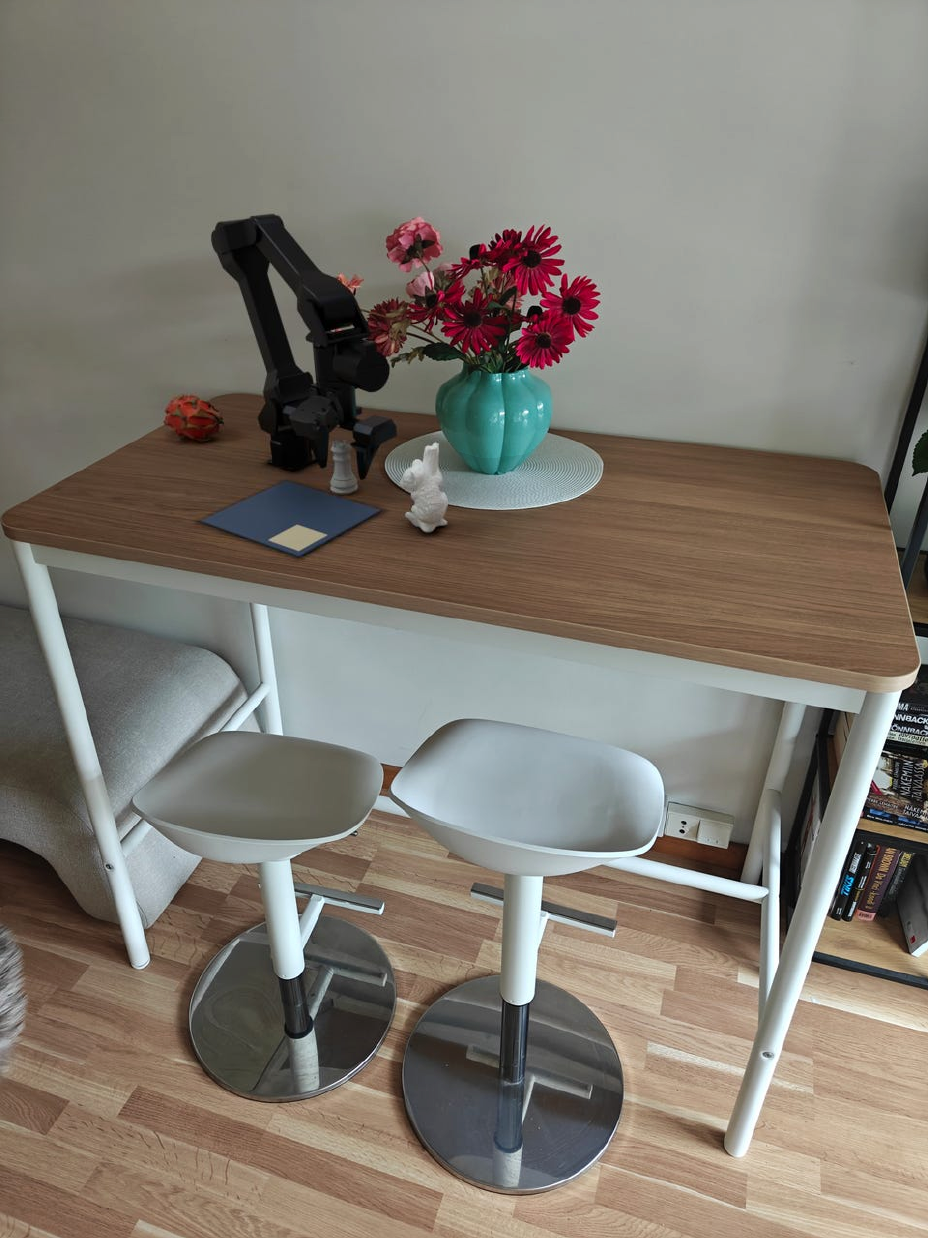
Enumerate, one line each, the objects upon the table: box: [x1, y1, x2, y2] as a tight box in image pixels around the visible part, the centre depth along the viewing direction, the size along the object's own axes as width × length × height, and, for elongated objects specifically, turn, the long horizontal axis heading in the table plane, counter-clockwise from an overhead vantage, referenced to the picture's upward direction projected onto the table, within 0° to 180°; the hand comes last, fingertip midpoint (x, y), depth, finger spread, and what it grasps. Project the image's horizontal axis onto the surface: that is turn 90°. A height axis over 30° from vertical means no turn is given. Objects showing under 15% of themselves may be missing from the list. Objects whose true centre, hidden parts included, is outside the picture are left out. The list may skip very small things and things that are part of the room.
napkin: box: [200, 480, 382, 558], centre depth 133 cm, size 18×20×1 cm
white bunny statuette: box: [399, 442, 449, 533], centre depth 127 cm, size 8×7×12 cm
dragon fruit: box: [162, 393, 225, 442], centre depth 160 cm, size 8×8×12 cm
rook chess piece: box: [329, 439, 359, 496], centre depth 140 cm, size 4×4×8 cm
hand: (342, 473), depth 140 cm, fingers open, 8 cm apart
